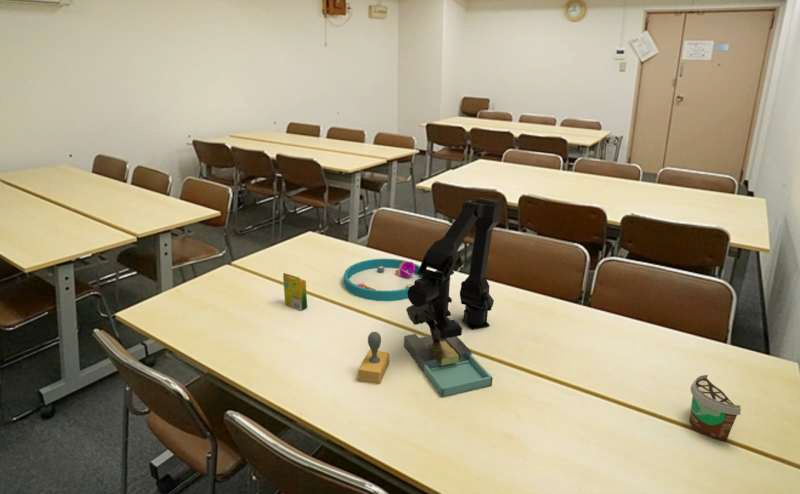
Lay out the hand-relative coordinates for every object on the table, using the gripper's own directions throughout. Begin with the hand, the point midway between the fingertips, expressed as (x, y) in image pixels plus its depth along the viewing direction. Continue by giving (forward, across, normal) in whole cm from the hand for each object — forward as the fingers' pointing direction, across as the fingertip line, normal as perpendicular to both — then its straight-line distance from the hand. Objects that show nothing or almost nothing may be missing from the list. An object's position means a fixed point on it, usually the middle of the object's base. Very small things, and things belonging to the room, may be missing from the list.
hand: (435, 343), depth 146 cm
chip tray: (+3, +13, 0) cm, 13 cm away
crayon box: (+4, -41, -31) cm, 52 cm away
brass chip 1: (+1, +3, 0) cm, 3 cm away
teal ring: (+4, -49, +3) cm, 50 cm away
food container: (+3, +48, +45) cm, 66 cm away
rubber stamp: (+4, +3, -19) cm, 19 cm away
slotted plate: (+3, +1, 0) cm, 3 cm away
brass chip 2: (+1, +7, 0) cm, 7 cm away
